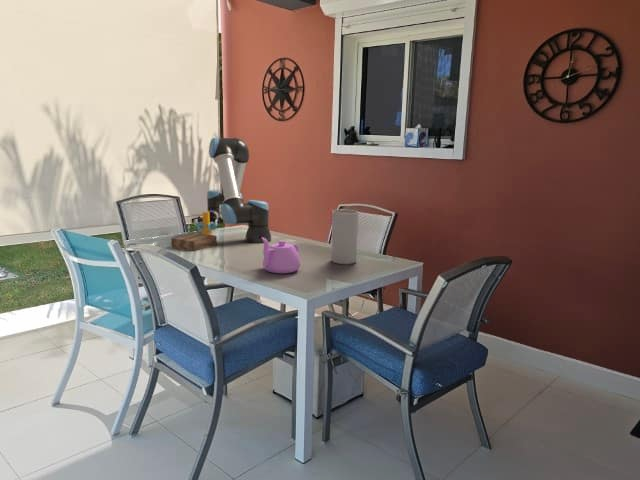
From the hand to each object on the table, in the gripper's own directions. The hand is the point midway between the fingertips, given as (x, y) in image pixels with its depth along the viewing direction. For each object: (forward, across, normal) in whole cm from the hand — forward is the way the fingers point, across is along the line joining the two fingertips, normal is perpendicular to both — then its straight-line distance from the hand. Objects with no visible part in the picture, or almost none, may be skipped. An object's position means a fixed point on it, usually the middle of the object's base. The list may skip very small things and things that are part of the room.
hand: (205, 223), depth 285 cm
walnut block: (+19, +3, -9) cm, 21 cm away
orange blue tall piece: (-4, 0, -9) cm, 10 cm away
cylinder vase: (+50, -76, -10) cm, 92 cm away
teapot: (+66, -44, -10) cm, 80 cm away
